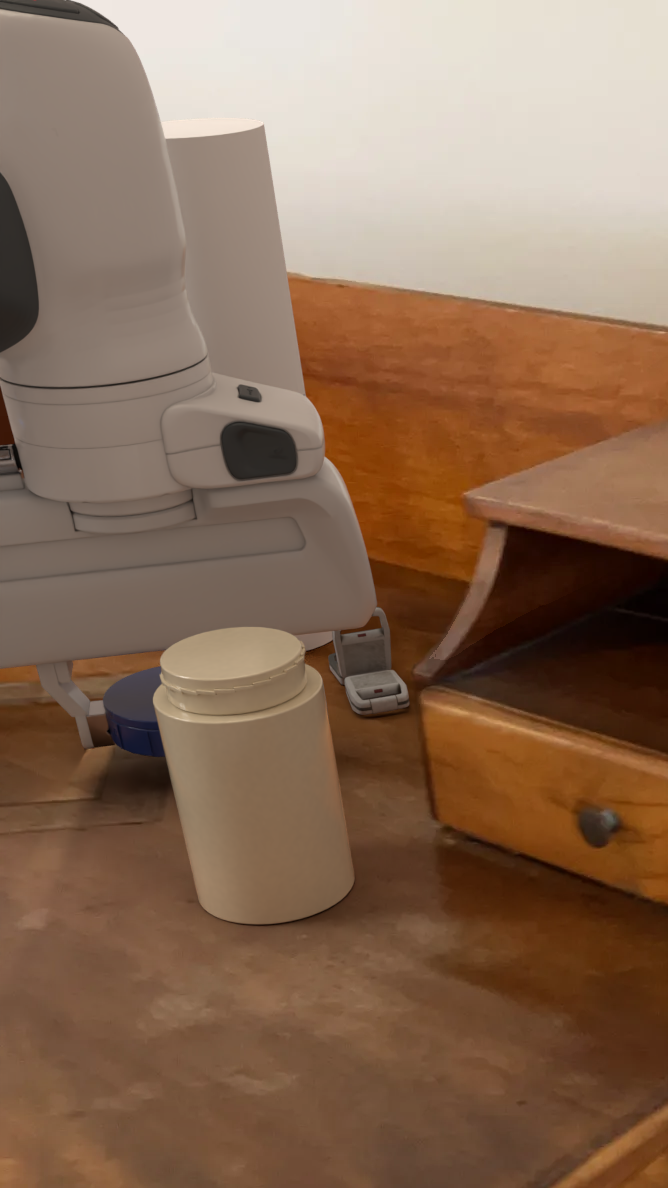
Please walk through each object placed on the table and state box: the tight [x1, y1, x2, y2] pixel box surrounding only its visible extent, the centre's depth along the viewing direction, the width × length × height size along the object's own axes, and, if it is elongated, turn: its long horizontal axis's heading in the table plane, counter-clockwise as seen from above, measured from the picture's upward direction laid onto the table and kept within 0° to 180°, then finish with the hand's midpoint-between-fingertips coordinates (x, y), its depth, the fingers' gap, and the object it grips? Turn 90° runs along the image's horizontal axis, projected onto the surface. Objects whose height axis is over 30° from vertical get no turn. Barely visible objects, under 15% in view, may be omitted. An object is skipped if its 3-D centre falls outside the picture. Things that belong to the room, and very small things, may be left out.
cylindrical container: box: [160, 117, 342, 652], centre depth 91 cm, size 7×7×25 cm
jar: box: [153, 627, 356, 926], centre depth 71 cm, size 7×7×10 cm
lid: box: [102, 665, 166, 758], centre depth 83 cm, size 7×7×2 cm
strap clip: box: [327, 606, 410, 716], centre depth 91 cm, size 8×3×4 cm, turn 20°
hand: (186, 732), depth 84 cm, fingers closed on lid, 7 cm apart
